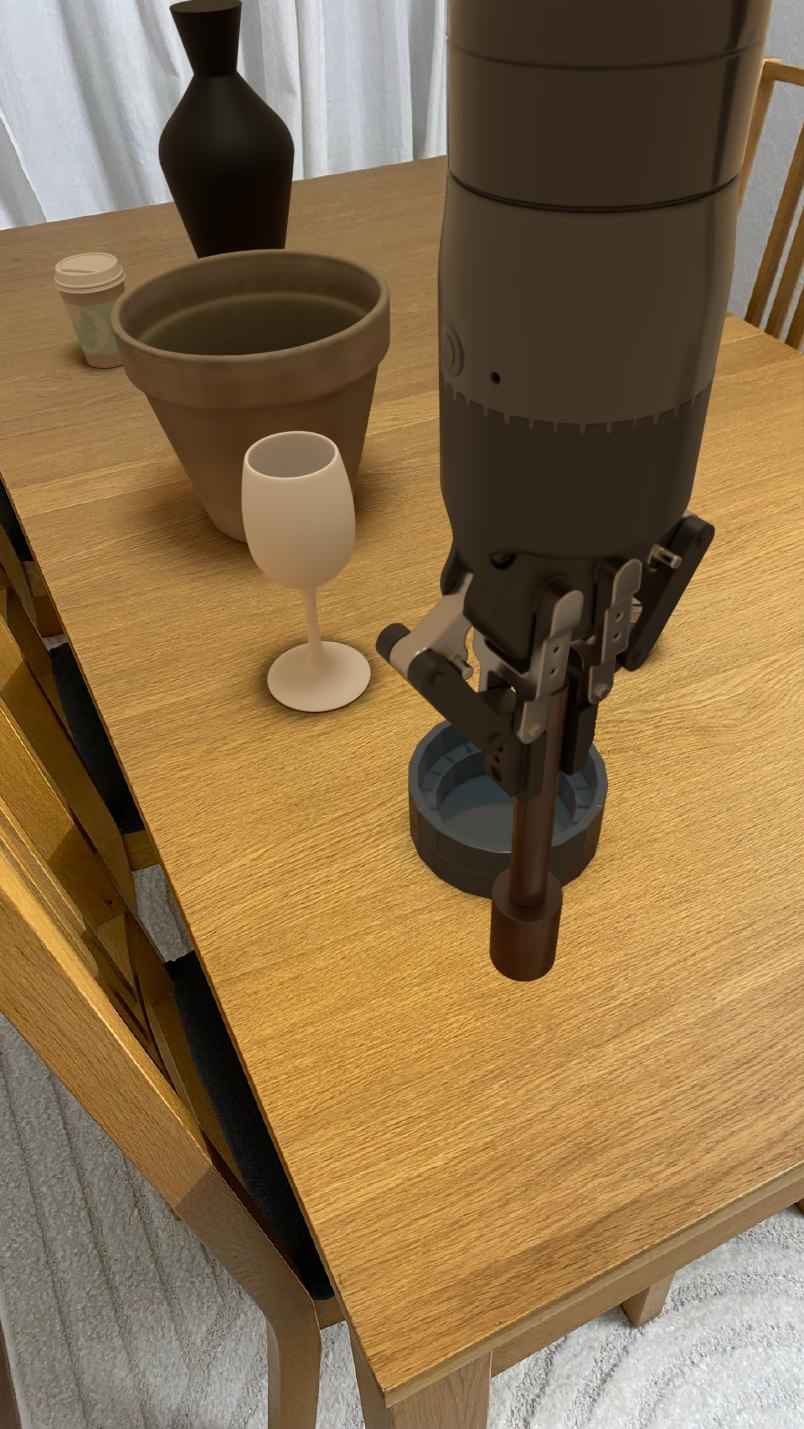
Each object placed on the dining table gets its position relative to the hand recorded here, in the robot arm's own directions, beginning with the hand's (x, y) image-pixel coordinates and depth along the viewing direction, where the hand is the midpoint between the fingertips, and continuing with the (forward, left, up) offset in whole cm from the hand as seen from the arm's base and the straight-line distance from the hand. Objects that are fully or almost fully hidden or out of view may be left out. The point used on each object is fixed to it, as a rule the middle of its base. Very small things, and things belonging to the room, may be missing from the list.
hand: (538, 771), depth 39 cm
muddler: (0, 0, -13) cm, 13 cm away
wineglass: (+37, -10, -27) cm, 47 cm away
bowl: (+15, -12, -27) cm, 33 cm away
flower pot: (+62, -20, -27) cm, 70 cm away
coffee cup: (+106, -20, -27) cm, 111 cm away
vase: (+109, -43, -27) cm, 120 cm away
